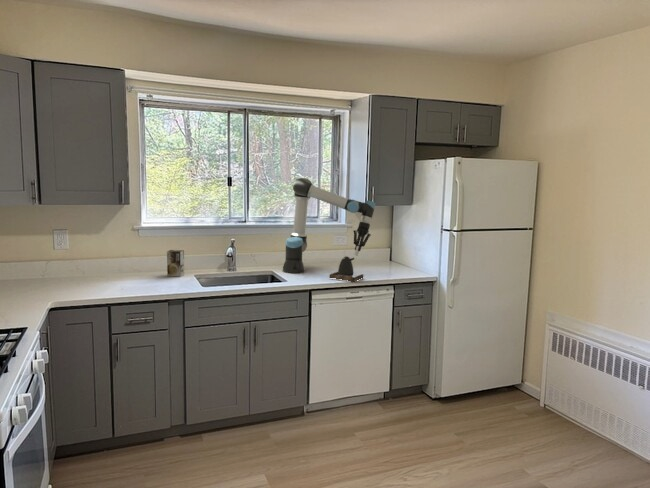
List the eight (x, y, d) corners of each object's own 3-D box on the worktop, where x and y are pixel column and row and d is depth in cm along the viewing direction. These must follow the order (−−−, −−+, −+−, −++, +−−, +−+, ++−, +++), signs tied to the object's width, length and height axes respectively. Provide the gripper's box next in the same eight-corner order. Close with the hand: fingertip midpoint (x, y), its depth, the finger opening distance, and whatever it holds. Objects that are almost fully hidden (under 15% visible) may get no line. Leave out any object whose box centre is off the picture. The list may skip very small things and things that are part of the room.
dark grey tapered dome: (354, 281, 311) (355, 257, 309) (338, 280, 310) (339, 257, 308) (352, 277, 321) (353, 255, 319) (337, 277, 320) (337, 254, 318)
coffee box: (184, 274, 311) (184, 250, 309) (180, 276, 304) (180, 251, 302) (171, 274, 312) (170, 249, 310) (166, 276, 305) (166, 251, 303)
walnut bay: (329, 278, 315) (329, 274, 314) (338, 275, 327) (339, 271, 327) (354, 282, 306) (354, 277, 306) (363, 278, 319) (363, 274, 318)
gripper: (375, 225, 336) (366, 258, 334) (358, 222, 342) (349, 254, 340) (371, 223, 329) (362, 256, 328) (354, 219, 335) (345, 252, 334)
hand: (356, 255), depth 334 cm, fingers closed
